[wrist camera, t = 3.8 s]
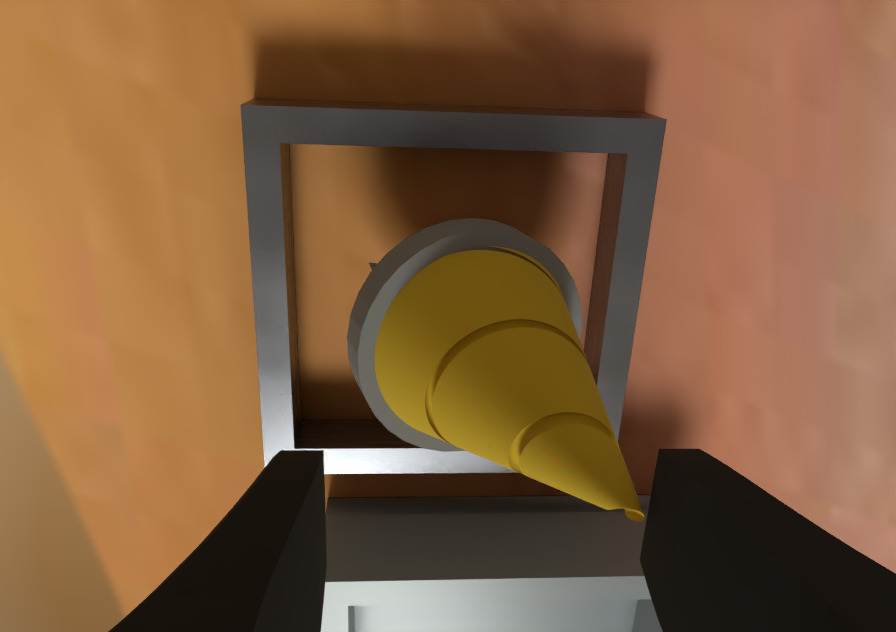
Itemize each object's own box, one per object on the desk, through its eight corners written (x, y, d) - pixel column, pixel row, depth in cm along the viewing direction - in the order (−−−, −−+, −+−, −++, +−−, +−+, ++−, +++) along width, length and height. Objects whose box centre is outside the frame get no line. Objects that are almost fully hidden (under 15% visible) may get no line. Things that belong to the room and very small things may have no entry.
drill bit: (405, 148, 17) (648, 276, 9) (547, 261, 20) (842, 446, 11) (280, 322, 18) (391, 608, 9) (435, 410, 20) (635, 695, 12)
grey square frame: (645, 112, 18) (666, 119, 16) (598, 442, 21) (613, 472, 20) (253, 98, 17) (240, 104, 15) (274, 444, 20) (265, 474, 19)
